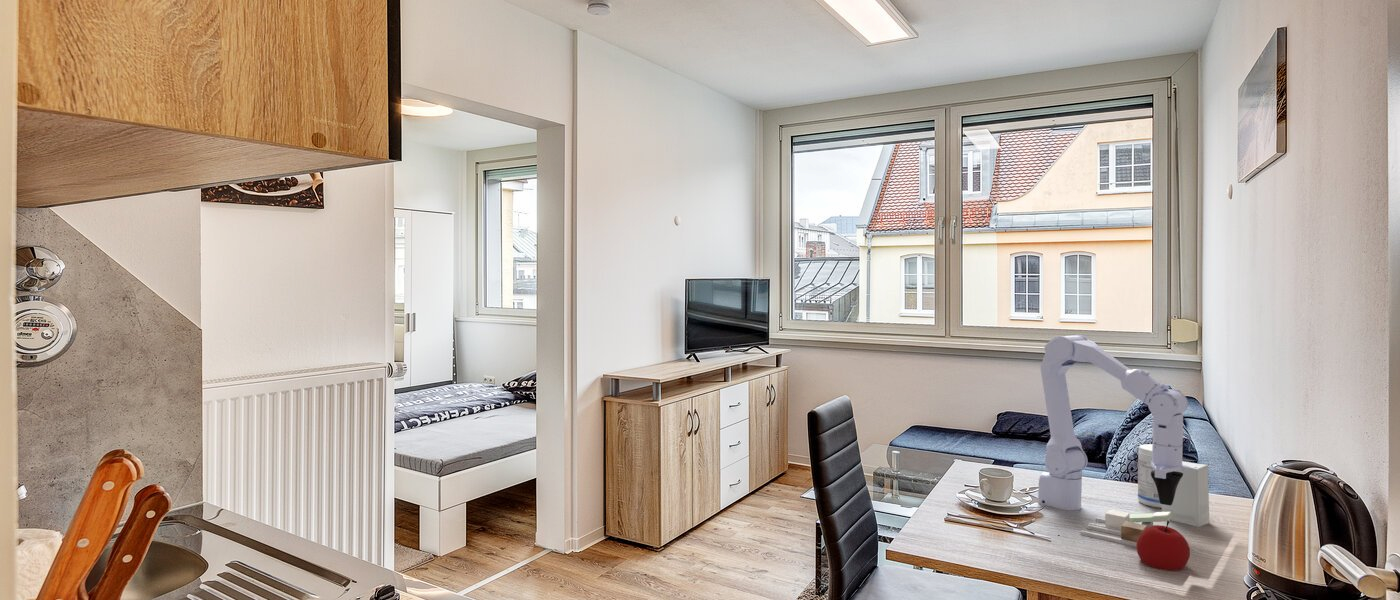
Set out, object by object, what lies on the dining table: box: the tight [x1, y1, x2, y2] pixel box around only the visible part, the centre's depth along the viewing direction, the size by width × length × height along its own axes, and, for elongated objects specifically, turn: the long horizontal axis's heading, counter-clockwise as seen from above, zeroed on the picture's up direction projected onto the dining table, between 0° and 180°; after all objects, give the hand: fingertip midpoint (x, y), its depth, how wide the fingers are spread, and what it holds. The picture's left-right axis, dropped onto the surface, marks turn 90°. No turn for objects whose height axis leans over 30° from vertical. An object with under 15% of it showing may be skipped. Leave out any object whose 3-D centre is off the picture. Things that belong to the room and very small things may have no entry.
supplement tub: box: [1137, 443, 1162, 509], centre depth 189 cm, size 10×10×15 cm
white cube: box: [1104, 509, 1131, 529], centre depth 167 cm, size 4×4×4 cm
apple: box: [1136, 520, 1191, 572], centre depth 146 cm, size 9×9×10 cm
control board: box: [1079, 517, 1154, 547], centre depth 165 cm, size 20×22×3 cm
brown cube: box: [1120, 521, 1147, 542], centre depth 158 cm, size 4×4×4 cm
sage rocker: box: [1129, 511, 1172, 523], centre depth 167 cm, size 9×4×1 cm, turn 47°
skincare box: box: [1161, 460, 1210, 528], centre depth 173 cm, size 8×6×15 cm
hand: (1166, 504), depth 164 cm, fingers closed
